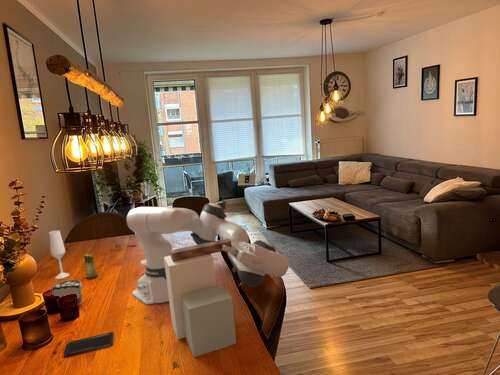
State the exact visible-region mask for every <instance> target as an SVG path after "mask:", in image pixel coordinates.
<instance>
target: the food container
mask: <svg viewBox="0 0 500 375" xmlns="http://www.w3.org/2000/svg"><path fill="white" fill-rule="evenodd" d="M82 288H83V284H82V282H81V281H80V280H79V279H66V280H63V281H60V282H57V283H55V284H53V285H52V286H51V288H50V291H51V292H52V294H53V297H54V296H59V297H62V296H66V295H70V294H76V295H77V298H78V303H79V307H78V308H80V306H81V307H82Z"/></svg>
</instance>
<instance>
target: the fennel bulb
mask: <svg viewBox="0 0 500 375" xmlns="http://www.w3.org/2000/svg"><path fill="white" fill-rule="evenodd" d="M83 258H84V266H85V272H86V277H87V278H88V279H94V278H96V277H97V275H98V271H97V269H96V267H95V263H94V256H93V255H92V254H84V255H83Z"/></svg>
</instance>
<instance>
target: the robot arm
mask: <svg viewBox="0 0 500 375" xmlns="http://www.w3.org/2000/svg"><path fill="white" fill-rule="evenodd" d="M201 210H202V211H201V212H200V215H199V214H198V213H197V212H196V211H195V210H192V209H188V208H185V207H171V206H139V207H136V208H131V209H130V210H129V211H128V213H127V215H126V225H127V227H128V229H129V230H131V231H132V232H133V233H134V234H135V235H136V236H137V238H138V239H139V241H140V242H141V244H142V246H143V250H144V254H145V256H144V257H145V260H146V262H147V264H145V265H144V266H143V269H144V270H145V271H144V274H143V275H141V277H140V278H138V280H137V281H136V282H137V283H136V286H137V288H135V289H134V290H133V291H132V296H133V297H135V298H137V299H138V300H140V302H142V303H143V304H145V305H147V306H148V305H153V304H160V303H161V304H162V303H167V302H169V296H168V287H167V279H166V271H165V263H164V257H166V256H171V253H170V250H172V248H173V246H172V244H171V242H170V241H169V240H167V239H166V238H165V237H164V236H163V235H168V234H169V235H170V234H175V233H183V232H191V233H190V236H191V237H192V240H193V241H194V243H195V245H199V244H204V243H209V242H214V241H216V239H217V237H218V236H219V238H220V239H217V241H219V240H224V239H229V240H230V241H231V245H232V247H229V246H227V245H224V244H223V245H222V247H221V249H222V250H224V251H223V252H227V257H228V260H230V263H231V264H232V266H233V268H234V270H235V271H236V272H237V275H238V277H239V279H240V281H241V282H242V283H243V284H244V285H246V286H248V287H250V288H255V287H258V286H260V285H261V284H263V281H264V278H265V275H270V276H273V277H278V278H279V277H284V276H285V275H286V274H287V272H288V270H289V267H290V260H289V258H287V257H286V256H284V255H283V254H281V253H278V252H277V249H276V248H275V246H274V245H273V244H271V243H269V242H268V243H267V242H266V241H263V240H259V239H258V240H256V241H254V242H253V243H249V241H250V240H249V239H250V238H249V234H248V232H247V230H246V229H245V227H242V226H241V225H239V224H238V223H235V222H232V221H229V220H227V219H226V218H227V214H226V213H225V210H224V209H223V207H222V206H220V205H219V204H217V203H213V202H209V203H204V205H203V207H202V209H201Z"/></svg>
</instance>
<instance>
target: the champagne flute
mask: <svg viewBox="0 0 500 375" xmlns="http://www.w3.org/2000/svg"><path fill="white" fill-rule="evenodd" d="M48 233H49V245H50V246H49V248H50V251H49V252H50V255H51V256H52V257H53V258H55V259H56V260H58V267H59V271H60V272H59V273H58V274H57V275H56V276H55V277H54V278H55V279H56V280H57V279H58V280H59V279H65V278H66V277H69V276H70V273H68V272H64V270H63V265H62V260H61V259H62V258H63V256H64V255H65V253H66V249H65V245H64V240H63V238H62V234H61V231H60V230H52V231H51V230H50V231H49V232H48Z"/></svg>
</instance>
